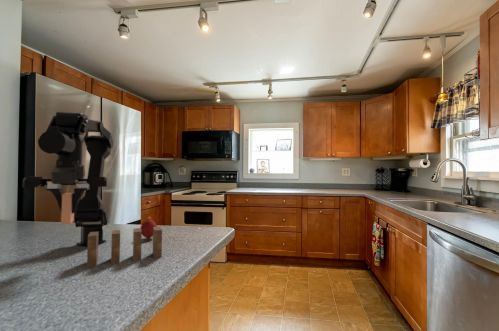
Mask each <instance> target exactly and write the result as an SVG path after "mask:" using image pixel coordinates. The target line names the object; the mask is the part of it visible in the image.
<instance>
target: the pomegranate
mask: <svg viewBox="0 0 499 331" xmlns="http://www.w3.org/2000/svg"><path fill="white" fill-rule="evenodd" d="M153 227H158V226H157V223H156V222H155V221H154V220H153V219H152V217H151V216H148V217H147V219H146V220H144V221H143V222H142V223H141V225H140V228H141V231H142V236H143V237H144V238H145V239H148V240H150V239H151V238H153Z"/></svg>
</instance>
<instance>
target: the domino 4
mask: <svg viewBox="0 0 499 331" xmlns="http://www.w3.org/2000/svg"><path fill="white" fill-rule="evenodd" d="M162 247H163V230H162V227H161V226H157V227H153V236H152V256H153V258H154V259H157V258H162V257H163V256H162V252H163V251H162V250H163V248H162Z"/></svg>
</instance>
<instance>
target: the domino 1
mask: <svg viewBox="0 0 499 331" xmlns="http://www.w3.org/2000/svg"><path fill="white" fill-rule="evenodd" d="M86 254H87V255H86V256H87V257H86V267H87V268H90V267H96V266H97V265H98V260H99V244H98V232H90V233H89V235H88V246H87V253H86Z"/></svg>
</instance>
